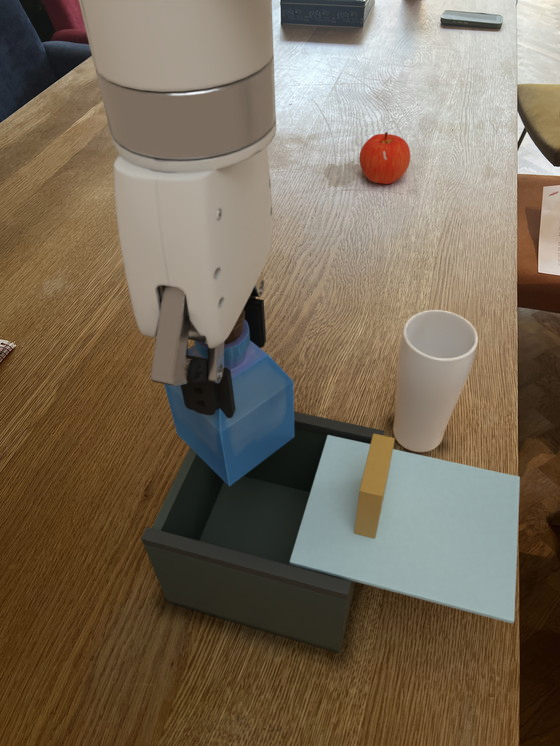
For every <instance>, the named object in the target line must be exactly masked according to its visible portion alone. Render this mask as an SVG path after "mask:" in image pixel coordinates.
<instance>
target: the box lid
mask: <svg viewBox="0 0 560 746" xmlns="http://www.w3.org/2000/svg"><path fill="white" fill-rule="evenodd" d="M395 441H396V438H395V437H392V436H388V435H384V436H383V435H378V434H373V436H372V440H371V444H367V443H363V442H358V441H354V440H349V439H344V438H340V437H335V436H331V435H328V436H327V439H326V442H325V446H324V449H323V452H322V456H321V459H320V462H319V465H318V469H317V472H316V475H315V479H314V482H313V485H312V489H311V492H310V495H309V499H308V502H307V505H306V509H305V512H304V515H303V519H302V522H301V525H300V529H299V532H298V535H297V539H296V542H295V545H294V549H293V552H292V555H291V559H290V564H291V565H295V566H299V567H302V568H306V569H310V570H314V571H317V572H321V573H325V574H329V575H332V576H336V577H340V578H344V579H347V580H351V581H355V582H356V583H358V584H363V585H366V586H370V587H374V588H378V589H382V590H386V591H388V592H393V593H396V594H400V595H403V596H407V597H412V598H415V599H419V600H423V601H426V602H429V603H434V604H437V605H441V606H445V607H449V608H453V609H456V610H460V611H462V612H463V611H464V612H468V613H471V614H475V615H479V616H482V617H487V618H490V619H493V620H497V621H502V622H504V623H507V624H508V623H509V624H514V623H515V618H516V617H515V616H516V615H515V614H516V613H515V612H516V591H517V589H516V587H517V561H518V540H519V539H518V538H519V515H520V514H519V509H520V489H521V487H520V486H521V477H520V476H519V475H513V474H508V473H504V472H499V471H495V470H491V469H486V468H483V467H482V468H481V467H477V466H473V465H472V466H471V465H467V464H463V463H459V462H455V461H451V460H450V461H449V460H446V459H445V460H444V459H441V458H435V457H431V456H426V455H422V454H417V453H414V452H408V451H403V450H399V449H395V447H394V446H395Z"/></svg>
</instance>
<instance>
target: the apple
mask: <svg viewBox="0 0 560 746" xmlns="http://www.w3.org/2000/svg"><path fill="white" fill-rule="evenodd" d="M406 141H407V140H405V139H404V138H402V137H401V136H398V135H396V134H390V133H389V132H388V131H386V132H384V133H378V134H374V135H372V136H371V137H370V138H369V139H367V140H366V141H365V143H364V144H363V145H362V147H361V149H360V152H359V158H358V159H359V166H360V168H361V171H362V172H363V174H364V175H365V176H366V178H367V179H368V180H369V181H370V182H371V183H376V184H383V185H384V184H385V185H388V184H392V183H395V182H396V181H398V180H399V179H400V178H402V177H403V175H405V174H406V172H407V170H408V168H409V166H410V162H411V150H410V146H409V144H408V142H406Z"/></svg>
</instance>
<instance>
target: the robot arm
mask: <svg viewBox="0 0 560 746" xmlns="http://www.w3.org/2000/svg"><path fill="white" fill-rule="evenodd" d="M78 3H79V8H80V12H81V16H82V20H83V24H84V28H85V32H86V37H87V41H88V45H89V50H90V53H91V57H92V62H93V66H94V68H95V75H96V79H97V83H98V87H99V91H100V95H101V98H102V103H103V107H104V111H105V115H106V120H107V125H108V128H109V132H110V133H109V134H110V136H111V141H112V144H113V148H114V149H115V151H116V152H117V154H118V156H117V158H116V159H115V161H114V163H113V182H114V183H113V189H114V191H113V192H114V203H115V216H116V223H117V231H118V239H119V245H120V251H121V257H122V262H123V267H124V273H125V280H126V285H127V288H128V294H129V298H130V302H131V307H132V311H133V315H134V319H135V322H136V325H137V328H138V330H139V332H140V334H141V335H142V336H145V337H149V338H153V339H155V343H154V350H153V356H152V364H151V370H150V380H151V382H153V383H159V384H163V385H164V384H167V385H171V386H179V385H180V386H181V390H182V394H183V399H184V403H185V406H186V407H187V408H188V409H190V410H194V411H195V412H197V413H200V414H204V415H213V414H214V413H215V411H216V410H218V409H219V408H220V409H221V410H222V412H223V413H224V414H225V415H226V417H227V418H232V417H233V415H234V412H235V410H236V409H235V401H234V393H233V385H232V378H231V370H229V369H228V368H225V367H224V341H225V340H226V339H227V337H228V336H229V334H230V333H231V331H232V329H233V327H234V325H235V324H236V322H237V320H238V318H239V316H240V314H241V312H242V310H243V308H244V311H245V318H244V319H245V320H246V321H247V323H248V326H249V334H250V341H251V342H253V343H254V344H255V345H257V346H258V347H259V348H260V349H263V348H264V346H265V344H266V342H267V331H266V314H265V300H264V299H261V297H262V296H263V293H264V291H265V290H264V289H265V279H264V274H263V272H262V271H263V270H264V267H265V265H266V263H267V261H268V259H269V256H270V252H271V248H272V244H273V203H272V202H273V200H272V199H273V198H272V186H271V177H270V176H271V174H270V164H269V155H268V146H270V145H271V143H272V142H273V139H274V138H275V137H276V133H277V115H276V114H277V113H276V86H275V85H276V84H275V83H276V82H275V81H276V80H275V60H274V59H275V54H274V28H273V27H274V24H273V0H78ZM189 340H190V341H194V340H195V341H200V342H205V343H206V344H208V359H206V358H201V357H196V356H191V355H188V349H189Z"/></svg>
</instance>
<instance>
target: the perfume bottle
mask: <svg viewBox="0 0 560 746" xmlns="http://www.w3.org/2000/svg"><path fill="white" fill-rule="evenodd" d="M244 318H245V311H244V308H243V310H242V312H241V314H240V316H239V318H238V320H237V322H236V324H235V325H234V327H233V329H232V331H231V333H230V334H229V336H228V337H227V339H226V340H225V341H224V367H225V368H228V369H229V370H231V378H232V385H233V393H234V401H235V409H236V410H235V412H234V415H233V417H232V418H227V417H226V415H225V414H224V413H223V412H222V410H221V409H220V408H219V409H218V410H216V411H215V413H214V414H213V415H204V414H200V413H197V412H195V411H194V410H190V409H188V408H187V407H186V406H185V403H184V399H183V394H182V390H181V386H180V385H179V386H171V385H167V384H163V385H164V389H165V392H166V396H167V401H168V404H169V407H170V412H171V416H172V420H173V424H174V427H175V428H174V429H175V431H176V435H177V436H178V437H179V439H181V440H182V441H183V442H184V443H185V444H186V445H187V446H188V447H189V449H190V448H191V449H192V450H193V451H194V452H195V453H196V454H197V455H198V456H199V457H200V458H201V459H202V460H203V461H204V462H205V463H206V464H207V465H208V466H209V467H210V468H211V469H212V470H213V471H214V472H215V473H216V474H217V475H218V476H219V477H220V478H221V479H222V480H223V481H224V482H225V483H226V484H227V485H228V486H231V485H232V484H233V483H235V482H236V481H237V480H239V479H240V478H241V477H243V476H244V475H245V474H246V473H248V472H249V471H250V470H252V469H253V468H254V467H256V466H257V465H258V464H260V463H261V462H262V461H263V460H265V459H266V458H267V457H269V456H270V455H271V454H273V453H274V452H275V451H277V450H278V449H279V448H281V447H282V446H283V445H284V444H286V443H287V442H288V441H290V440H291V439H292V438H294V412H295V402H294V401H295V400H294V399H295V398H294V397H295V396H294V393H295V391H294V380H293V379H292V378H291V377H290V376H289V374H287V372H285V370H283V369H282V367H281V366H279V364H278V363H277V362H276V361H275V360H274V359H273V357H271V356H270V354H268V353H267V352H265V351H264V350H263V348H259V347H258V346H257V345H255V344H254V343H253V342H251V341H250V334H249V326H248V323H247V321H246V320H245V319H244ZM193 342H194V344H193V345H192V346H190V347H188V355H191V356H196V357H201V358H206V359H208V344H206V343H205V342H200V341H195V340H193Z"/></svg>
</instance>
